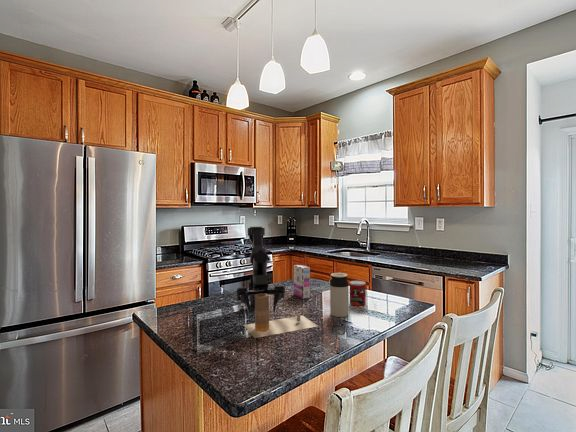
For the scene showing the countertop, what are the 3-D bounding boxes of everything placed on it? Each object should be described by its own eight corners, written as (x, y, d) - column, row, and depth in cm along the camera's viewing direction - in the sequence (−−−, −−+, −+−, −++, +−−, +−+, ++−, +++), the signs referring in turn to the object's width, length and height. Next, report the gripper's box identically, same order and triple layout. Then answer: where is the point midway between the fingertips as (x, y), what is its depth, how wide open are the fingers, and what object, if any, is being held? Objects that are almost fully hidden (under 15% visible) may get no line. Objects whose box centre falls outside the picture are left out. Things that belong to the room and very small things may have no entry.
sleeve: (252, 330, 119) (252, 295, 119) (259, 325, 124) (259, 292, 124) (264, 332, 117) (264, 297, 117) (271, 327, 122) (270, 294, 121)
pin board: (254, 342, 112) (254, 328, 112) (243, 328, 125) (243, 316, 125) (318, 329, 123) (318, 317, 123) (302, 318, 135) (302, 307, 135)
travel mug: (348, 318, 135) (348, 276, 135) (329, 317, 137) (329, 276, 137) (348, 312, 143) (348, 272, 143) (331, 311, 145) (330, 272, 145)
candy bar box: (311, 298, 167) (310, 267, 166) (302, 299, 165) (302, 268, 164) (301, 293, 177) (301, 264, 177) (293, 294, 175) (293, 264, 174)
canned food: (347, 305, 153) (347, 283, 153) (352, 301, 160) (352, 280, 160) (363, 308, 149) (363, 284, 149) (367, 303, 156) (367, 281, 156)
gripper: (236, 267, 123) (236, 303, 112) (284, 265, 125) (288, 300, 114) (237, 282, 130) (237, 318, 120) (281, 280, 133) (285, 315, 122)
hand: (262, 312), depth 119 cm, fingers open, 9 cm apart
